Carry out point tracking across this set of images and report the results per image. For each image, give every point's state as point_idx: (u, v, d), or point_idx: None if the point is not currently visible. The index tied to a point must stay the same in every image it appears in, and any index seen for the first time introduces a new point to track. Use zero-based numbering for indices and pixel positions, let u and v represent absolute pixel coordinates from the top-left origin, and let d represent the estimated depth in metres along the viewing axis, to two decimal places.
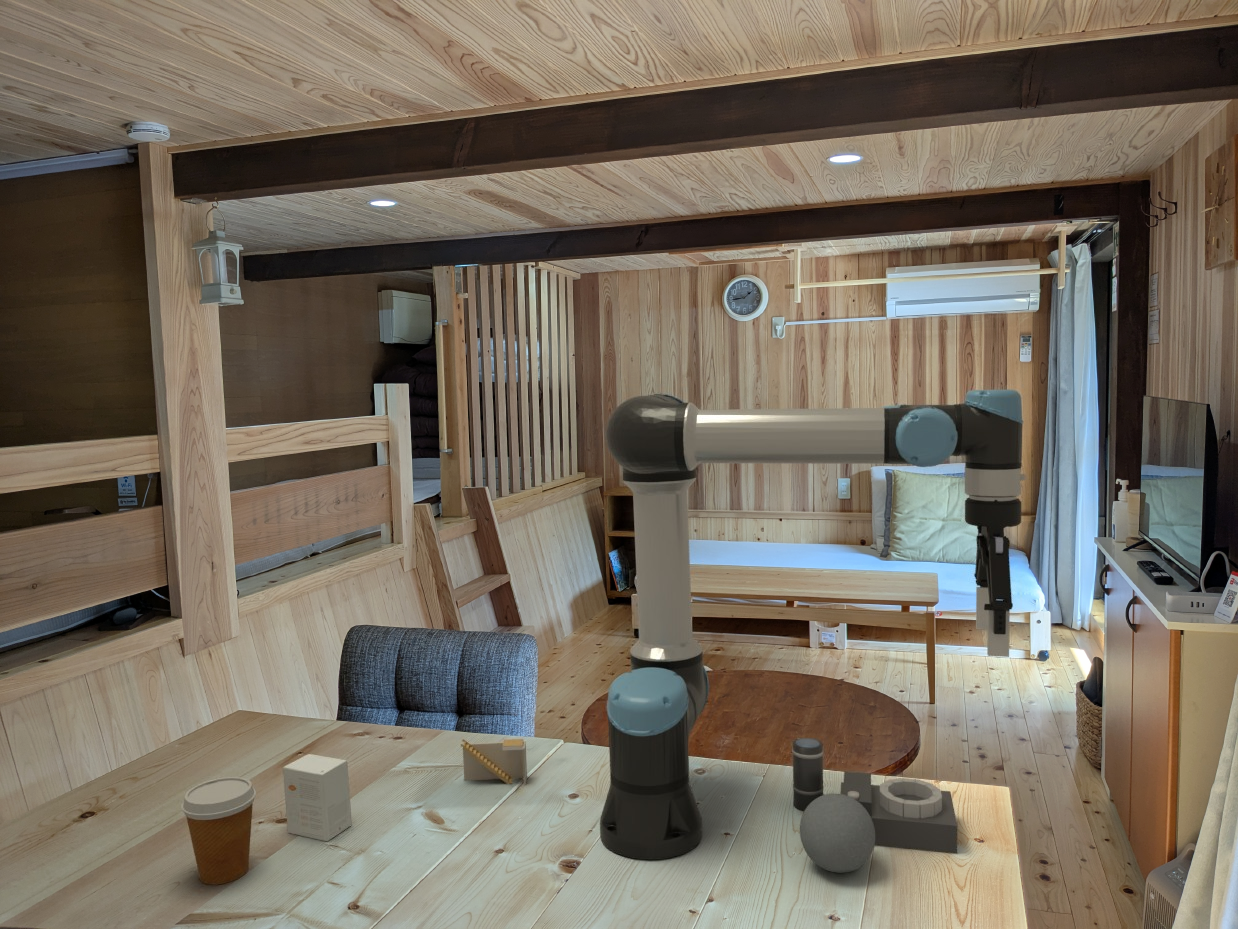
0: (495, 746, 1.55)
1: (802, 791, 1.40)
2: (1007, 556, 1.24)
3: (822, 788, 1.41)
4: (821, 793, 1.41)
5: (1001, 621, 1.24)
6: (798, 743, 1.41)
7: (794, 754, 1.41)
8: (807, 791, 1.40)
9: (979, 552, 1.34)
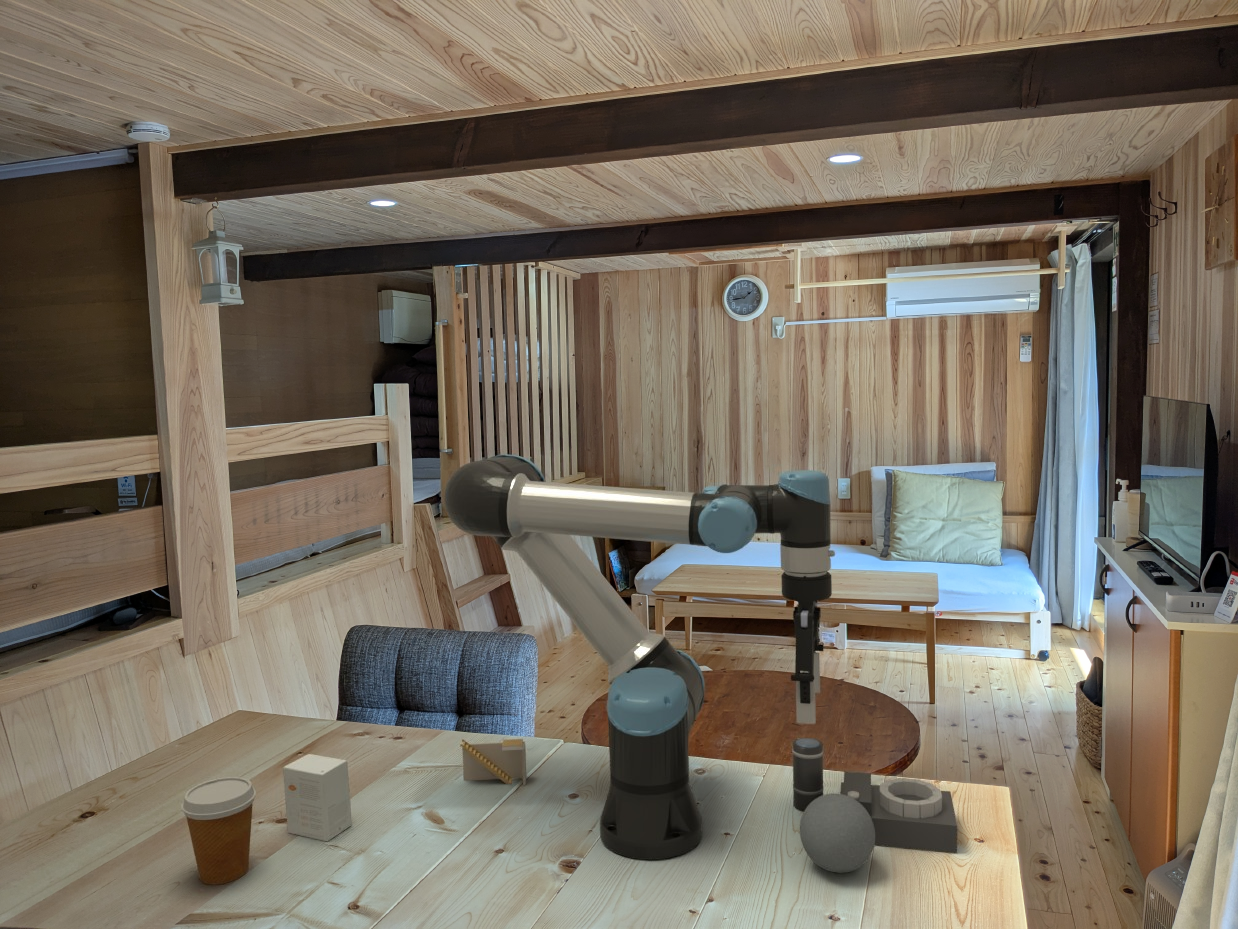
0: (495, 746, 1.55)
1: (802, 791, 1.40)
2: (811, 630, 1.32)
3: (822, 788, 1.41)
4: (821, 793, 1.41)
5: (806, 691, 1.32)
6: (798, 743, 1.41)
7: (794, 754, 1.41)
8: (807, 791, 1.40)
9: None
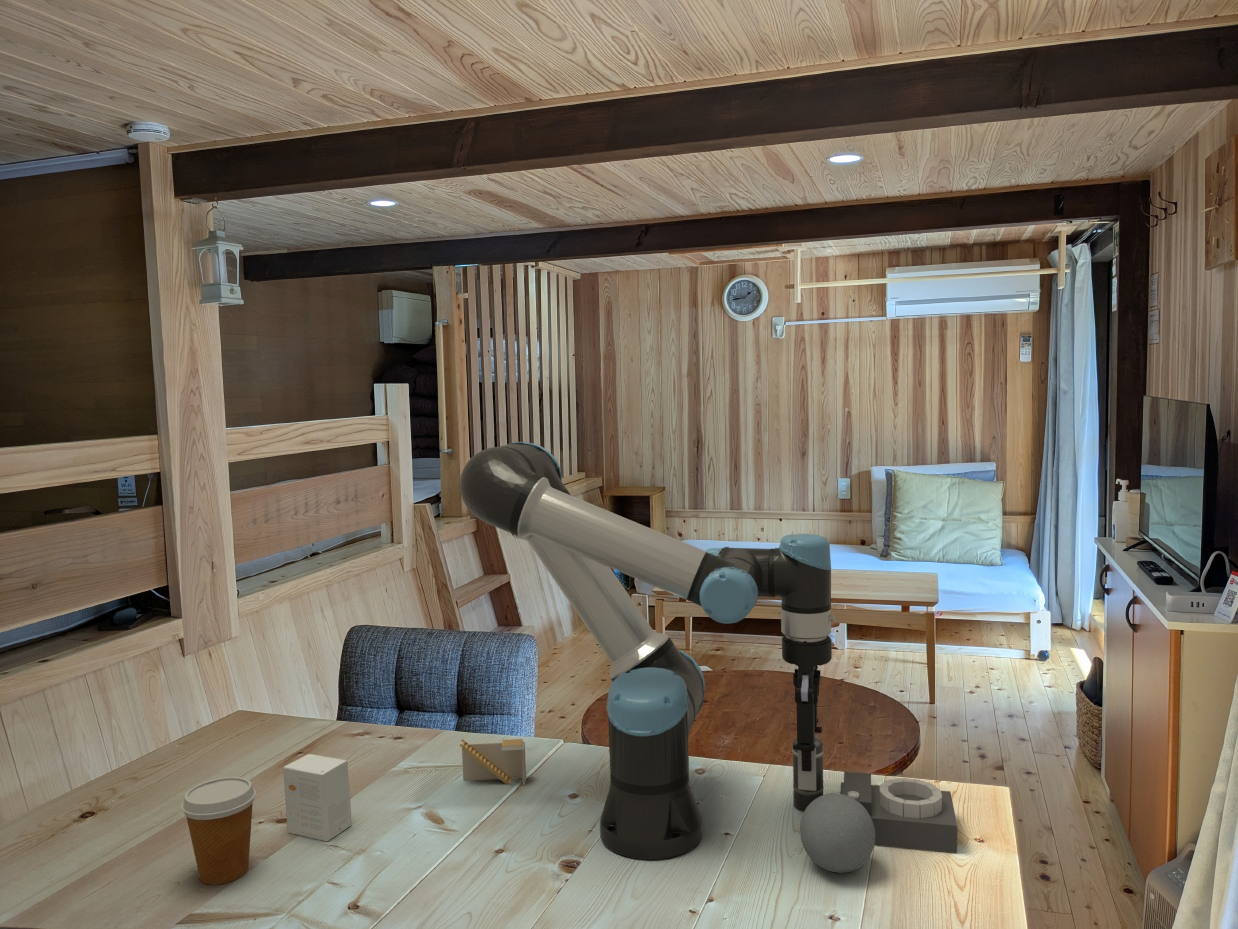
0: (494, 746, 1.55)
1: (802, 791, 1.40)
2: (811, 705, 1.35)
3: (822, 788, 1.41)
4: (821, 793, 1.41)
5: (807, 760, 1.37)
6: None
7: (794, 754, 1.41)
8: (807, 791, 1.40)
9: None
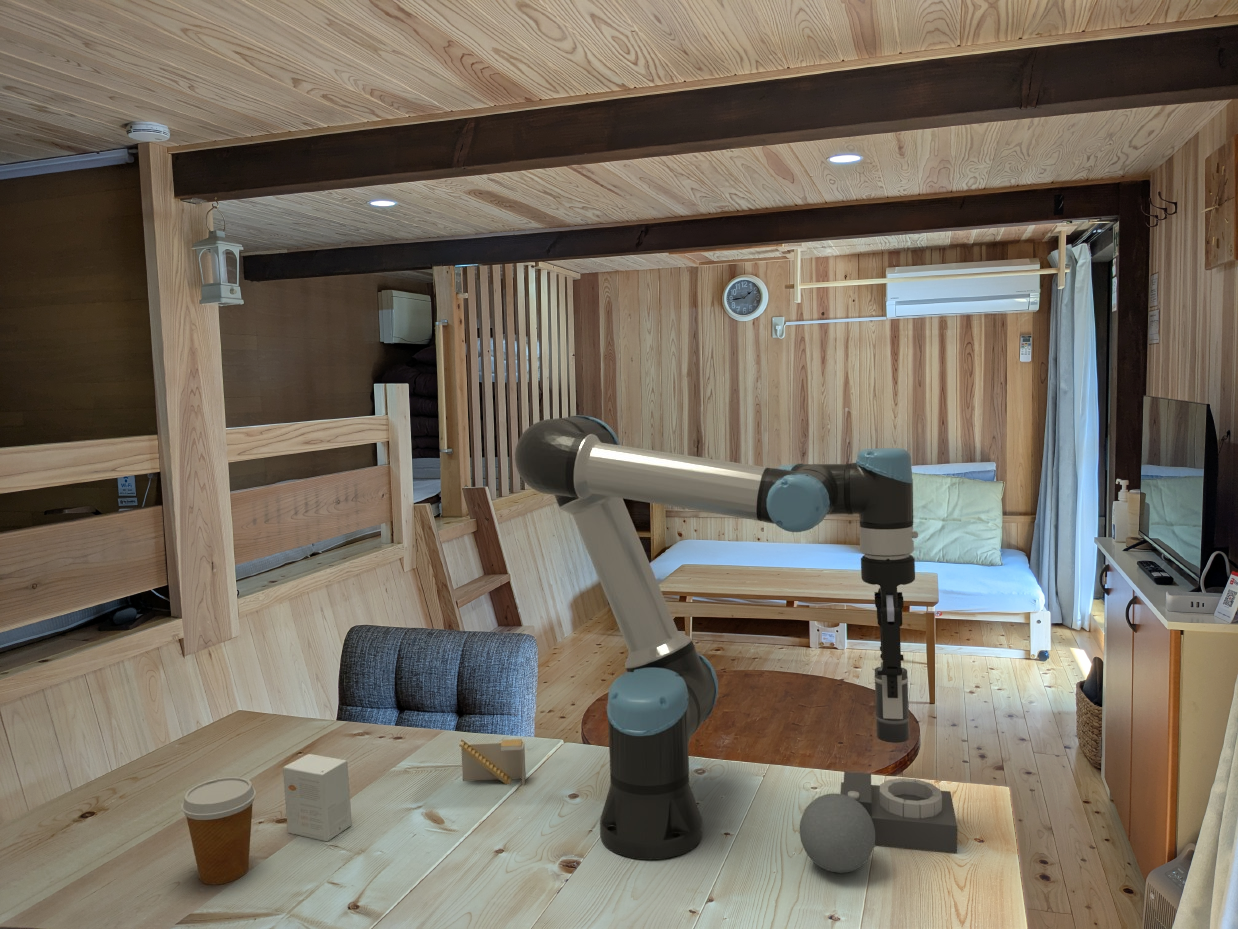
0: (494, 746, 1.55)
1: (887, 720, 1.32)
2: (898, 625, 1.26)
3: (908, 717, 1.33)
4: (907, 722, 1.32)
5: (893, 685, 1.29)
6: (881, 670, 1.33)
7: (877, 682, 1.33)
8: (893, 720, 1.32)
9: None
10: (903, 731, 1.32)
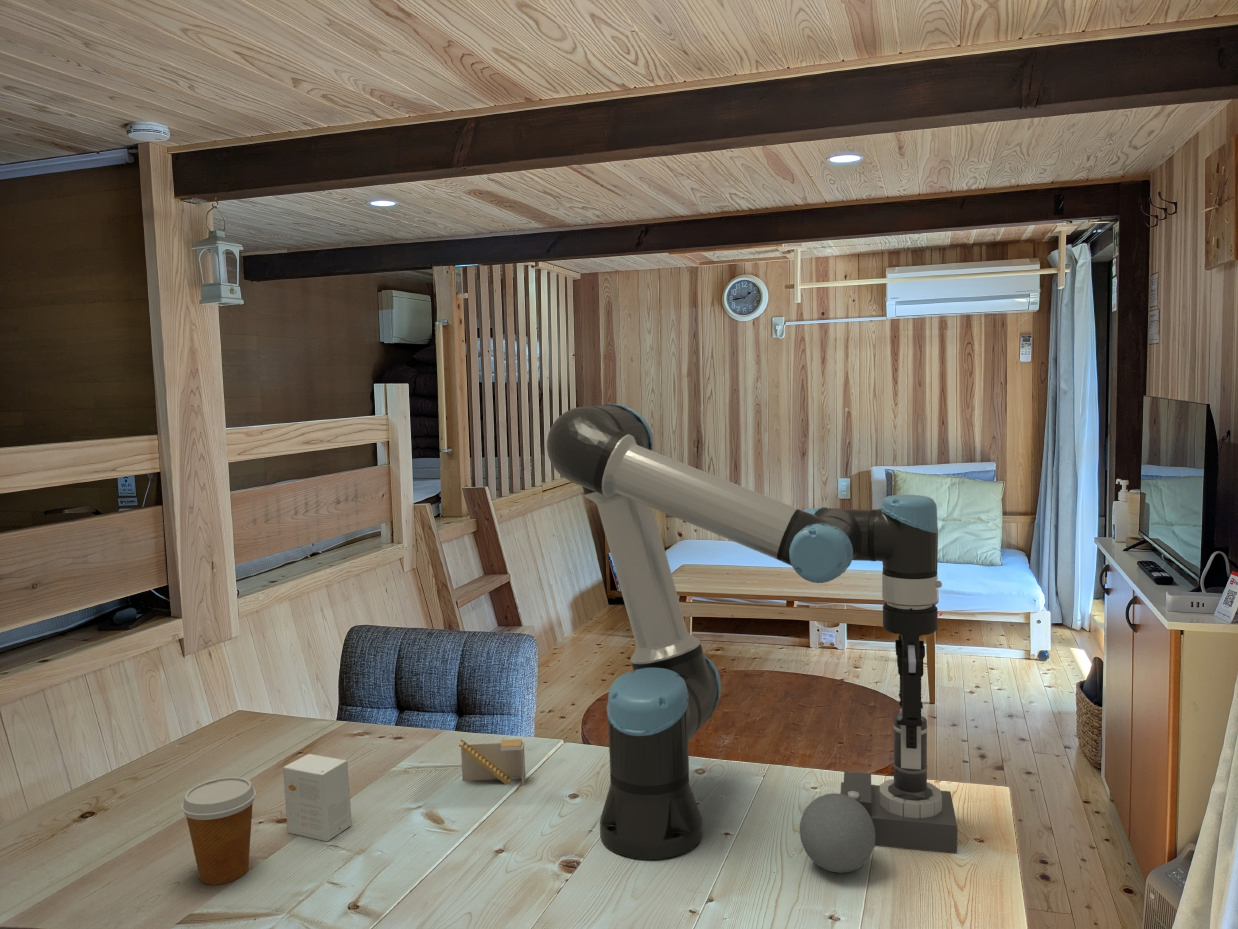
0: (493, 746, 1.55)
1: (905, 770, 1.31)
2: (919, 677, 1.25)
3: (926, 767, 1.31)
4: (925, 772, 1.31)
5: (912, 736, 1.28)
6: (900, 719, 1.32)
7: (896, 731, 1.32)
8: (911, 770, 1.30)
9: None
10: (920, 781, 1.31)
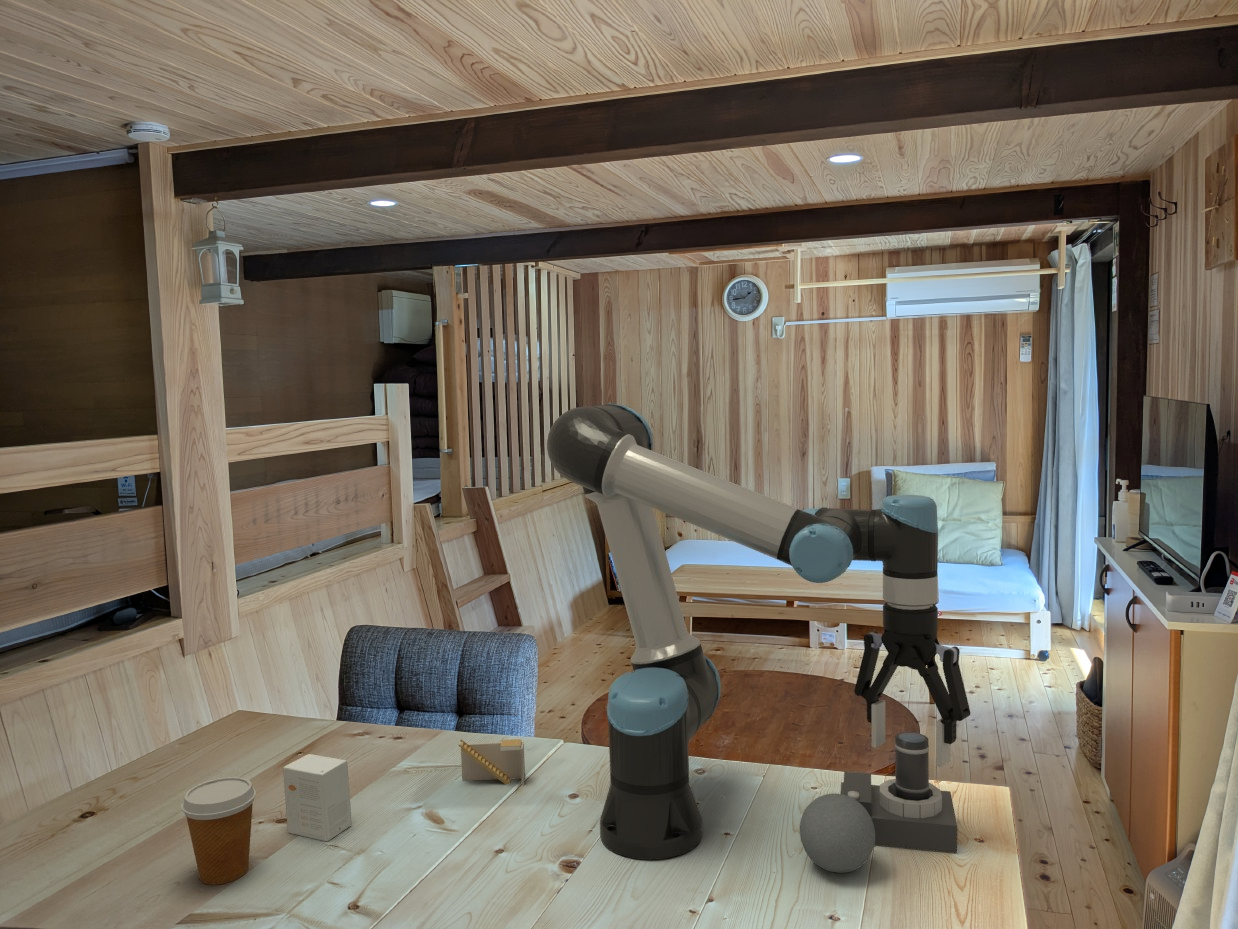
0: (493, 746, 1.55)
1: (923, 789, 1.31)
2: (958, 665, 1.27)
3: None
4: None
5: (954, 730, 1.27)
6: (910, 740, 1.31)
7: (913, 754, 1.30)
8: (927, 786, 1.31)
9: (893, 661, 1.32)
10: None
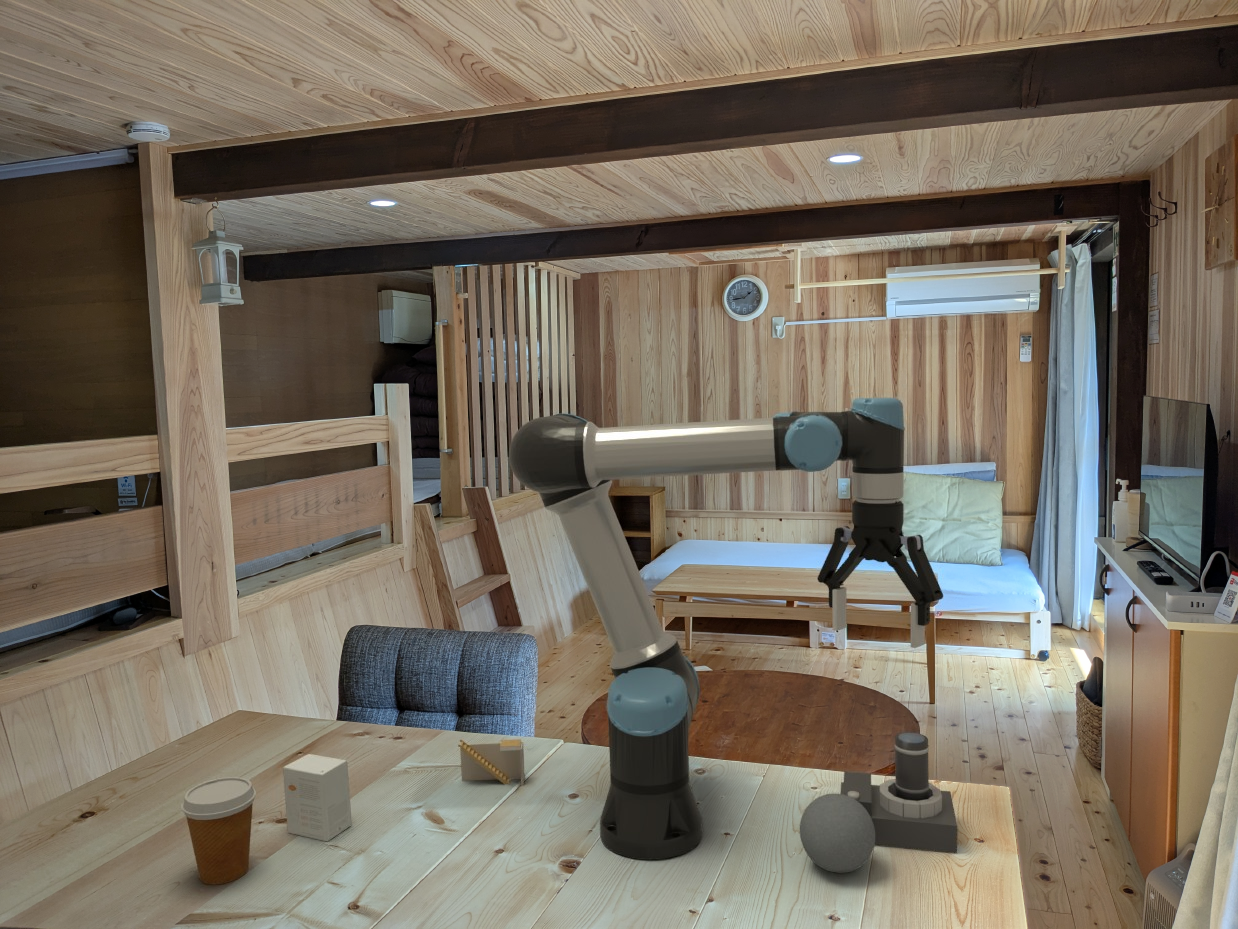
0: (493, 746, 1.55)
1: (923, 789, 1.31)
2: (924, 551, 1.34)
3: None
4: None
5: (927, 612, 1.33)
6: (910, 741, 1.31)
7: (912, 754, 1.30)
8: (927, 787, 1.31)
9: (859, 554, 1.39)
10: None
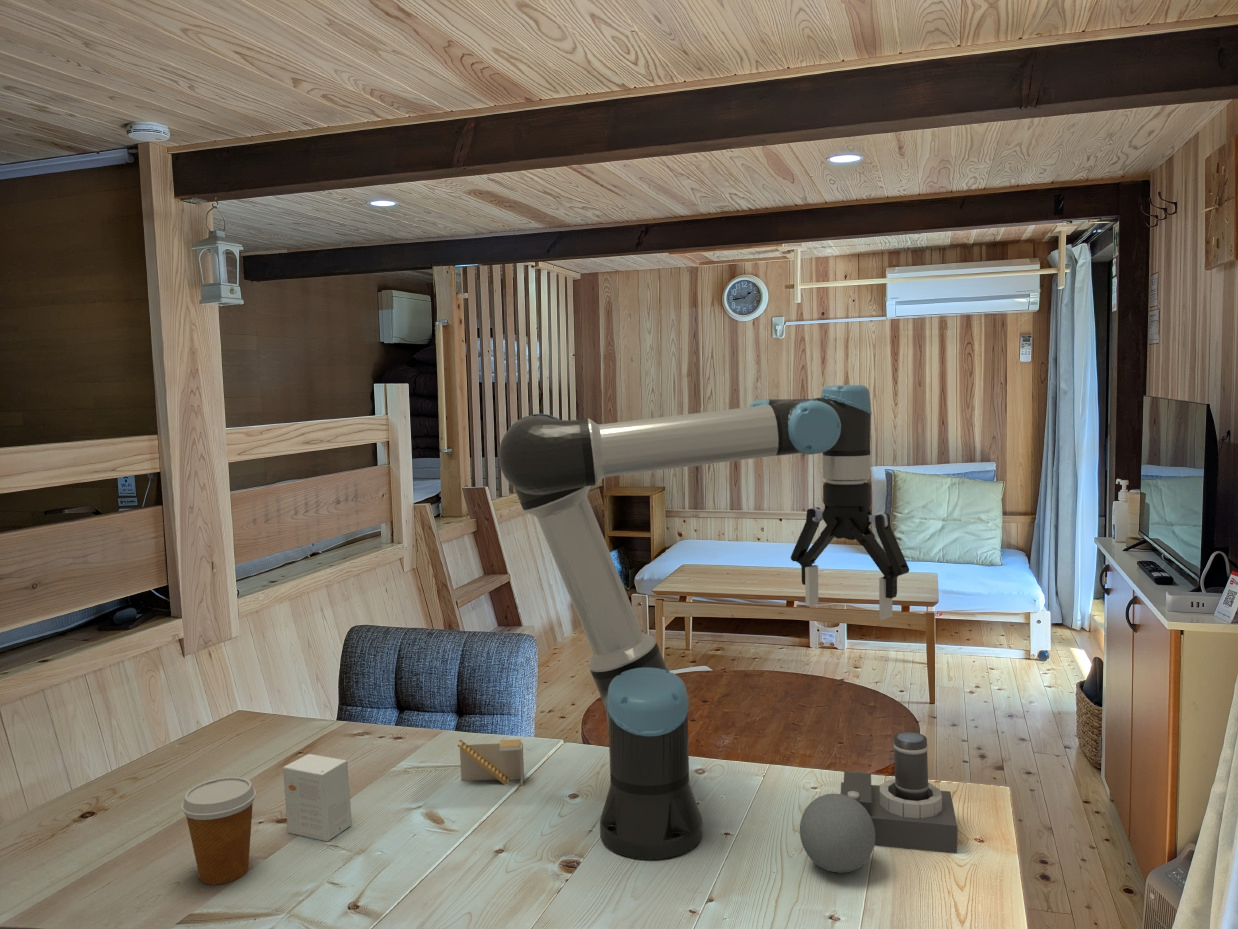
0: (492, 746, 1.55)
1: (923, 788, 1.31)
2: (890, 529, 1.42)
3: None
4: None
5: (895, 586, 1.42)
6: (909, 741, 1.31)
7: (912, 754, 1.30)
8: (926, 786, 1.31)
9: (830, 533, 1.47)
10: None
